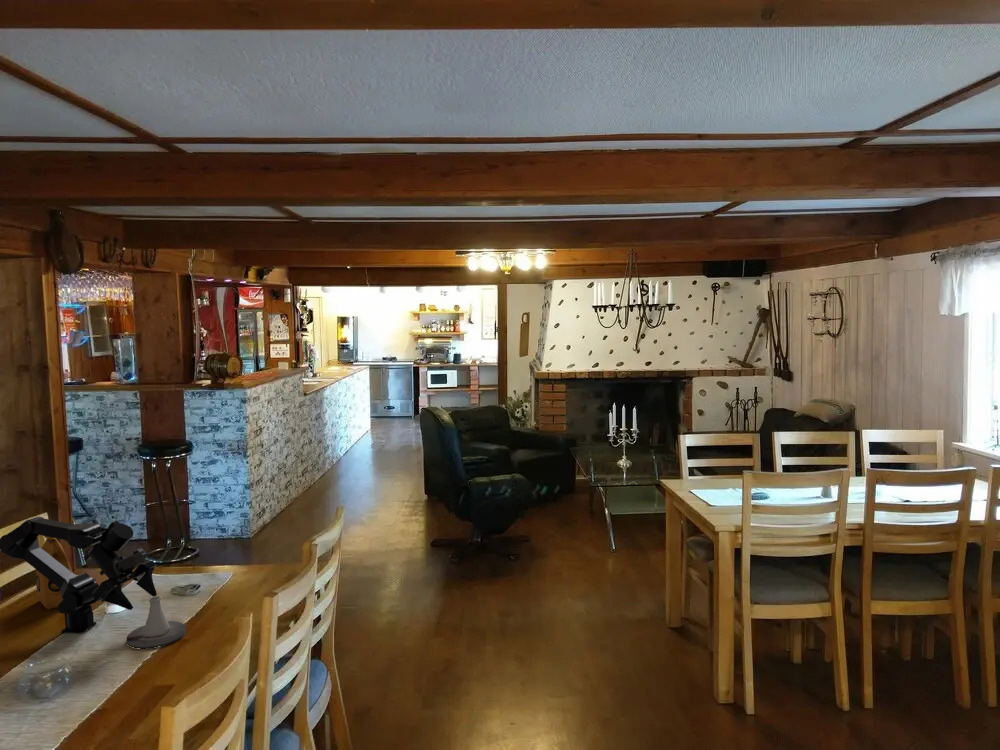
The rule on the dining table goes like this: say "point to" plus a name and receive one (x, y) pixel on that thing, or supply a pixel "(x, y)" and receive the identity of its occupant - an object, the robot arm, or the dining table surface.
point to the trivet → (171, 636)
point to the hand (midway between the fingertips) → (144, 602)
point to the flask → (155, 619)
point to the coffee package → (45, 588)
